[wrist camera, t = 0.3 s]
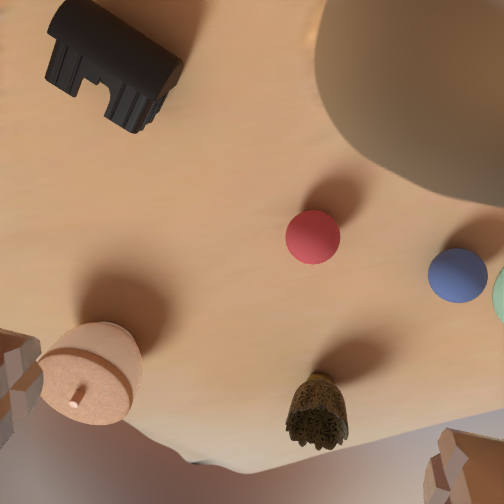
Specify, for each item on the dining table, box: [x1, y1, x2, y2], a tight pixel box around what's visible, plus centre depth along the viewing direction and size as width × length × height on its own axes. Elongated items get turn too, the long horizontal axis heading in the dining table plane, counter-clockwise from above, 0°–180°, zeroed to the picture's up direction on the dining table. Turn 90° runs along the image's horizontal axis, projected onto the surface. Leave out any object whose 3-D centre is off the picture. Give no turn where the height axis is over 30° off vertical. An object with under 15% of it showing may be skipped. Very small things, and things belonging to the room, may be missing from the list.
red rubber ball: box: [286, 210, 340, 264], centre depth 48 cm, size 6×6×6 cm
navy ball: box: [428, 248, 488, 303], centre depth 48 cm, size 6×6×6 cm
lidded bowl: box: [38, 321, 142, 425], centre depth 62 cm, size 13×13×11 cm
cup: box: [286, 373, 348, 450], centre depth 60 cm, size 8×7×8 cm
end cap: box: [45, 0, 183, 134], centre depth 42 cm, size 10×7×7 cm
